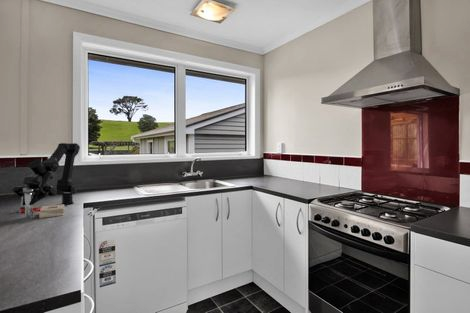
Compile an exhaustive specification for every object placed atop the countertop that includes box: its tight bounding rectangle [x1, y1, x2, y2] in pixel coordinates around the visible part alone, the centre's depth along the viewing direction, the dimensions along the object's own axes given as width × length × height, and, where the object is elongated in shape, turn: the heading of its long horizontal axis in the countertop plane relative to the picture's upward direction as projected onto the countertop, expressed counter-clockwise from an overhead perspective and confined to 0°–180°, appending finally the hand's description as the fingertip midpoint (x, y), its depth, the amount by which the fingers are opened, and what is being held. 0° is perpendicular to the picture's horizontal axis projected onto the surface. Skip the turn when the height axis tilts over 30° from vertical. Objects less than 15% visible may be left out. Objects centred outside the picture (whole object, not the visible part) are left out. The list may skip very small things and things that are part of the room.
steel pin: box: [23, 188, 34, 219], centre depth 128 cm, size 4×4×14 cm
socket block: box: [38, 204, 65, 219], centre depth 135 cm, size 12×10×4 cm
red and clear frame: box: [17, 197, 41, 214], centre depth 143 cm, size 8×13×9 cm
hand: (26, 205), depth 127 cm, fingers closed on steel pin, 3 cm apart
